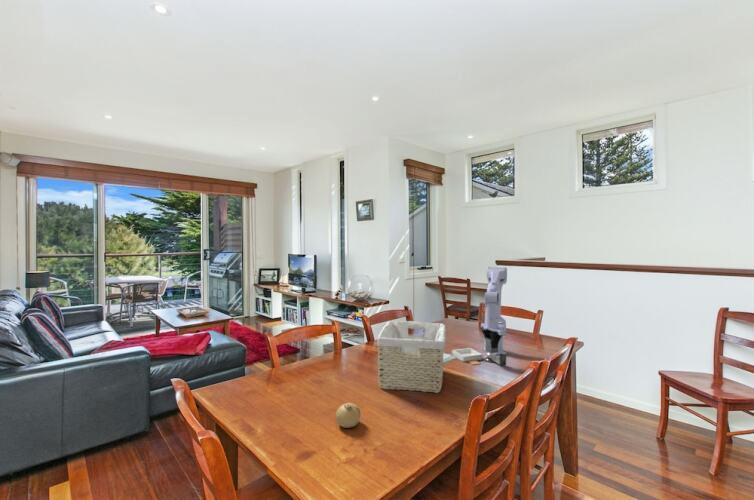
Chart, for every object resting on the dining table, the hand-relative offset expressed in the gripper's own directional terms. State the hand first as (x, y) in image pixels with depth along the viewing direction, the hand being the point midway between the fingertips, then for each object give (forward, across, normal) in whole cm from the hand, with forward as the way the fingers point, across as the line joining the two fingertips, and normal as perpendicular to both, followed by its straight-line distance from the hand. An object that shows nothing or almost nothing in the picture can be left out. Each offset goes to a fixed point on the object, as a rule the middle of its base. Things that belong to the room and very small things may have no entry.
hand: (491, 346), depth 163 cm
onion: (+9, +30, -75) cm, 81 cm away
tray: (+9, -13, -5) cm, 17 cm away
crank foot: (+9, -5, +3) cm, 11 cm away
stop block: (+2, 0, 0) cm, 2 cm away
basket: (+9, +4, -41) cm, 42 cm away
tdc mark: (+9, -5, -6) cm, 12 cm away
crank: (+8, -1, +3) cm, 8 cm away
